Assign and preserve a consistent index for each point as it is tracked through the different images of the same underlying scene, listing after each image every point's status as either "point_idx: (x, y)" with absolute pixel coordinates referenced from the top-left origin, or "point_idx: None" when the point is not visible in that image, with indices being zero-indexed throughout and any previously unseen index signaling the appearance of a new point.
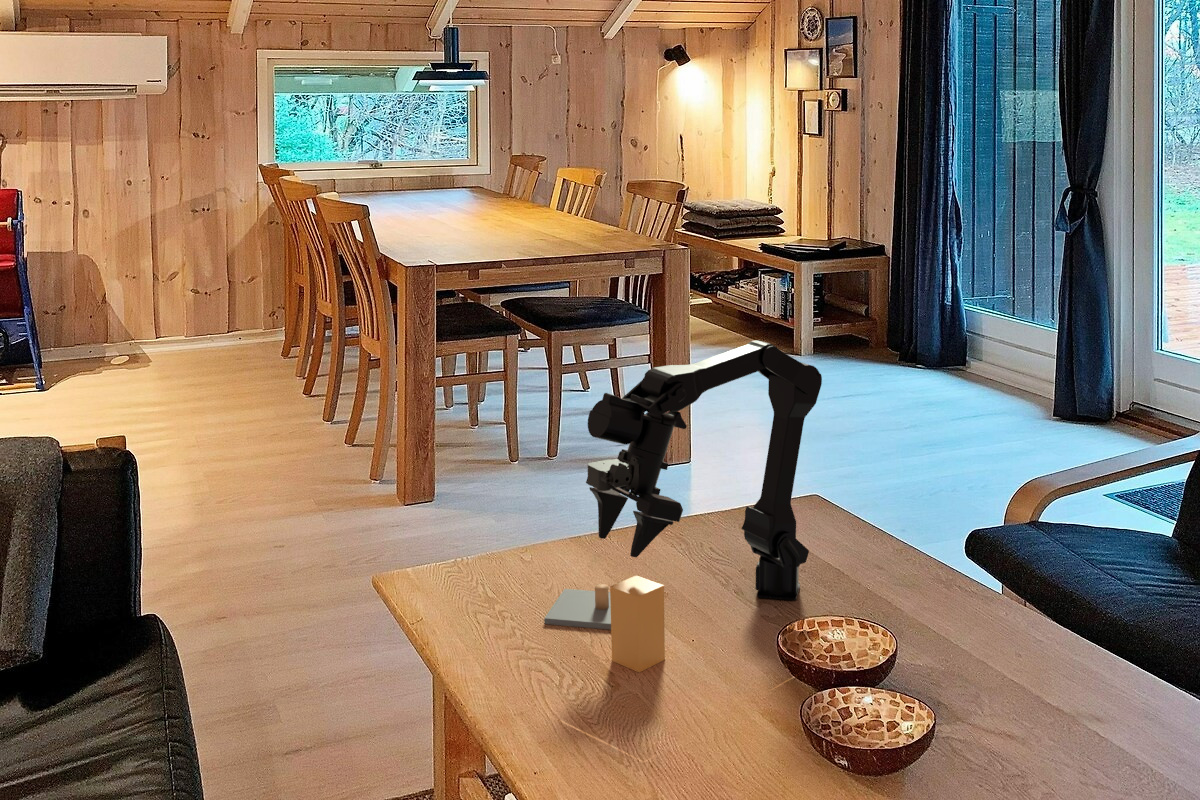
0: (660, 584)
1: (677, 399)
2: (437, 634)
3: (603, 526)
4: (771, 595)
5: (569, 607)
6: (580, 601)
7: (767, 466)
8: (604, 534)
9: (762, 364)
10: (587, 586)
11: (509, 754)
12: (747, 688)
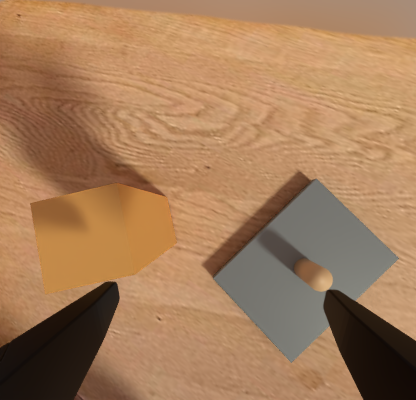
0: (55, 290)
1: None
2: (365, 51)
3: (357, 331)
4: None
5: (329, 227)
6: (340, 252)
7: None
8: (332, 314)
9: None
10: (401, 302)
11: (60, 8)
12: (21, 291)
